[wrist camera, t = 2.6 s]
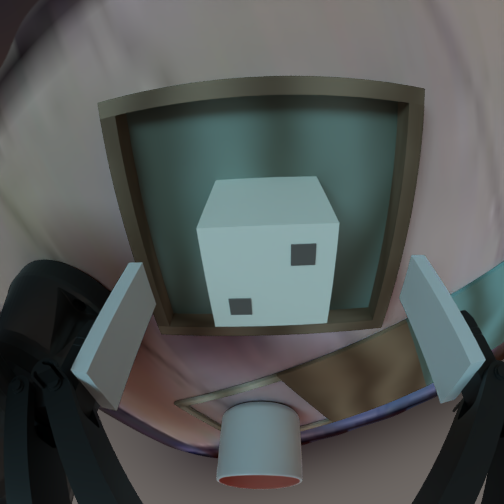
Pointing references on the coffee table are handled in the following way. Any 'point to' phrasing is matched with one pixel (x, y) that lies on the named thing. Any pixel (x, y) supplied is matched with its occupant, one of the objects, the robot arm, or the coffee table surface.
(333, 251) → the die
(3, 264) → the coffee table surface
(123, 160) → the dice tray
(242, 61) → the coffee table surface
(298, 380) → the track
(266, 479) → the cup
